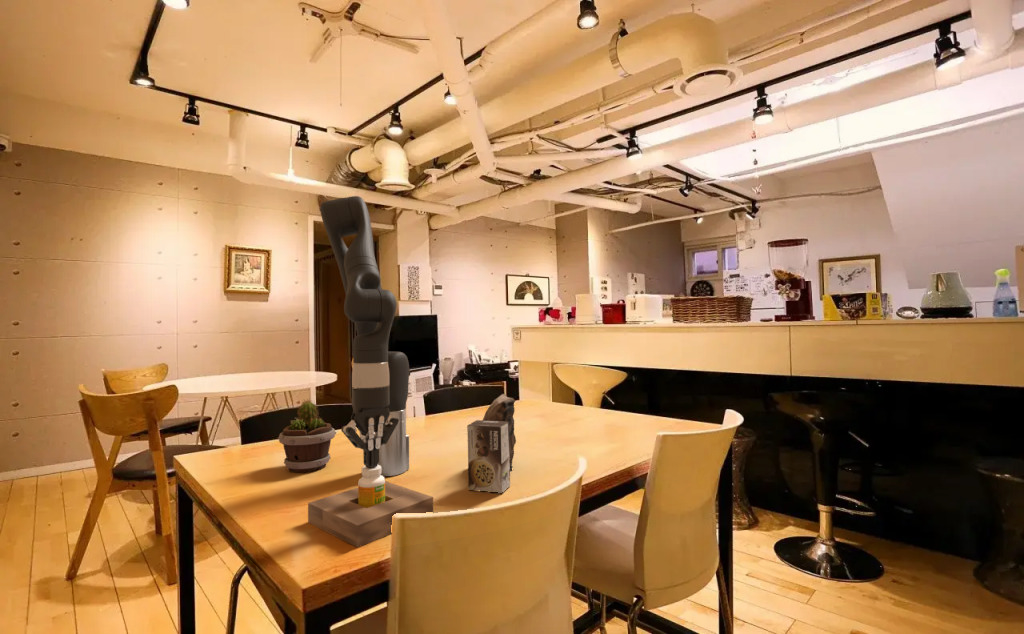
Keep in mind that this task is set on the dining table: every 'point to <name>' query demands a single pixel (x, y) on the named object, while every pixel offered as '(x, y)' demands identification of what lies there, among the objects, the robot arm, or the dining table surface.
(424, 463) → the dining table surface
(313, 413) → the flowerpot
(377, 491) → the supplement bottle
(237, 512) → the dining table surface
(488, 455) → the coffee box
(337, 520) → the socket board
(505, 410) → the owl
